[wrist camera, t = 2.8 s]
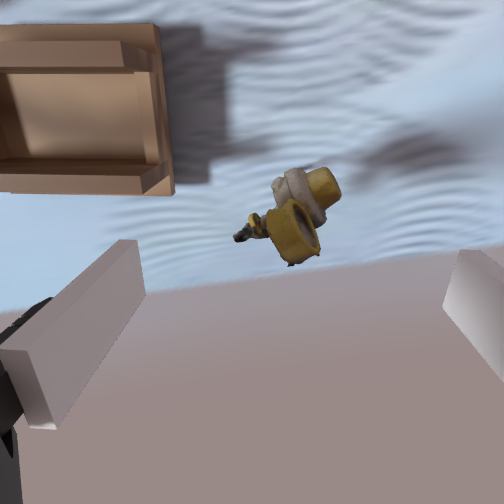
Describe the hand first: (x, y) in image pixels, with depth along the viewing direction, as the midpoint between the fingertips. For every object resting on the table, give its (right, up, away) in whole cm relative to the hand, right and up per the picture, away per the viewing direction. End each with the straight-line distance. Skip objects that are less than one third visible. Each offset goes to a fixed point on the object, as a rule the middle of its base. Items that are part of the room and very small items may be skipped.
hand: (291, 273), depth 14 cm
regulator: (+1, +8, +16) cm, 17 cm away
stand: (-15, +13, +14) cm, 24 cm away
